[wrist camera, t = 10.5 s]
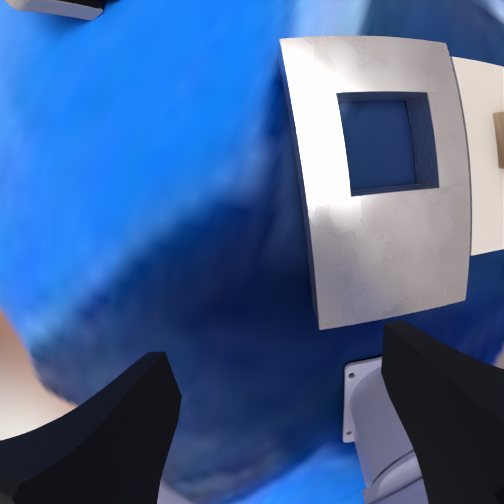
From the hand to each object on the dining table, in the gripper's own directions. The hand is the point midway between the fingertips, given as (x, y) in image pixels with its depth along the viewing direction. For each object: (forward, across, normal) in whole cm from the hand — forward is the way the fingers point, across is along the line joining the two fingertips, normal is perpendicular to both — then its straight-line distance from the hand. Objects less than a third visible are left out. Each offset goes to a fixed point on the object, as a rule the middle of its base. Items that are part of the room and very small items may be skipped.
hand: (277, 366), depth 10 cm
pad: (+10, -19, -6) cm, 23 cm away
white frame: (+10, -7, -4) cm, 13 cm away
